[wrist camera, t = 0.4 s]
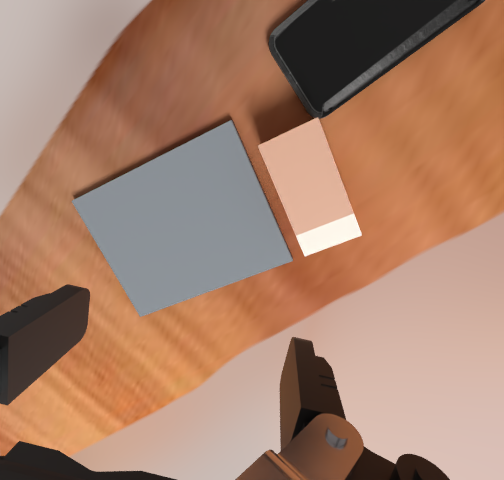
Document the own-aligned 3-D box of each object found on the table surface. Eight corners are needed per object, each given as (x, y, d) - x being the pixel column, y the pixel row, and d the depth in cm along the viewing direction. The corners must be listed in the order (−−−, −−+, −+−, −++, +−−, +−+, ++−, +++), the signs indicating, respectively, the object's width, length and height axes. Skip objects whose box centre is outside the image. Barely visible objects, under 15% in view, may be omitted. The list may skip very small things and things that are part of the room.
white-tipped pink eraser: (261, 145, 28) (257, 145, 24) (314, 120, 26) (318, 117, 23) (303, 243, 30) (304, 256, 26) (353, 224, 29) (362, 235, 25)
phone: (500, -10, 22) (316, 123, 26) (490, -3, 23) (315, 124, 27) (447, -123, 20) (262, 37, 24) (440, -110, 21) (263, 42, 25)
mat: (232, 120, 27) (231, 119, 27) (292, 258, 30) (292, 260, 30) (75, 199, 31) (71, 201, 31) (142, 314, 34) (140, 316, 34)
